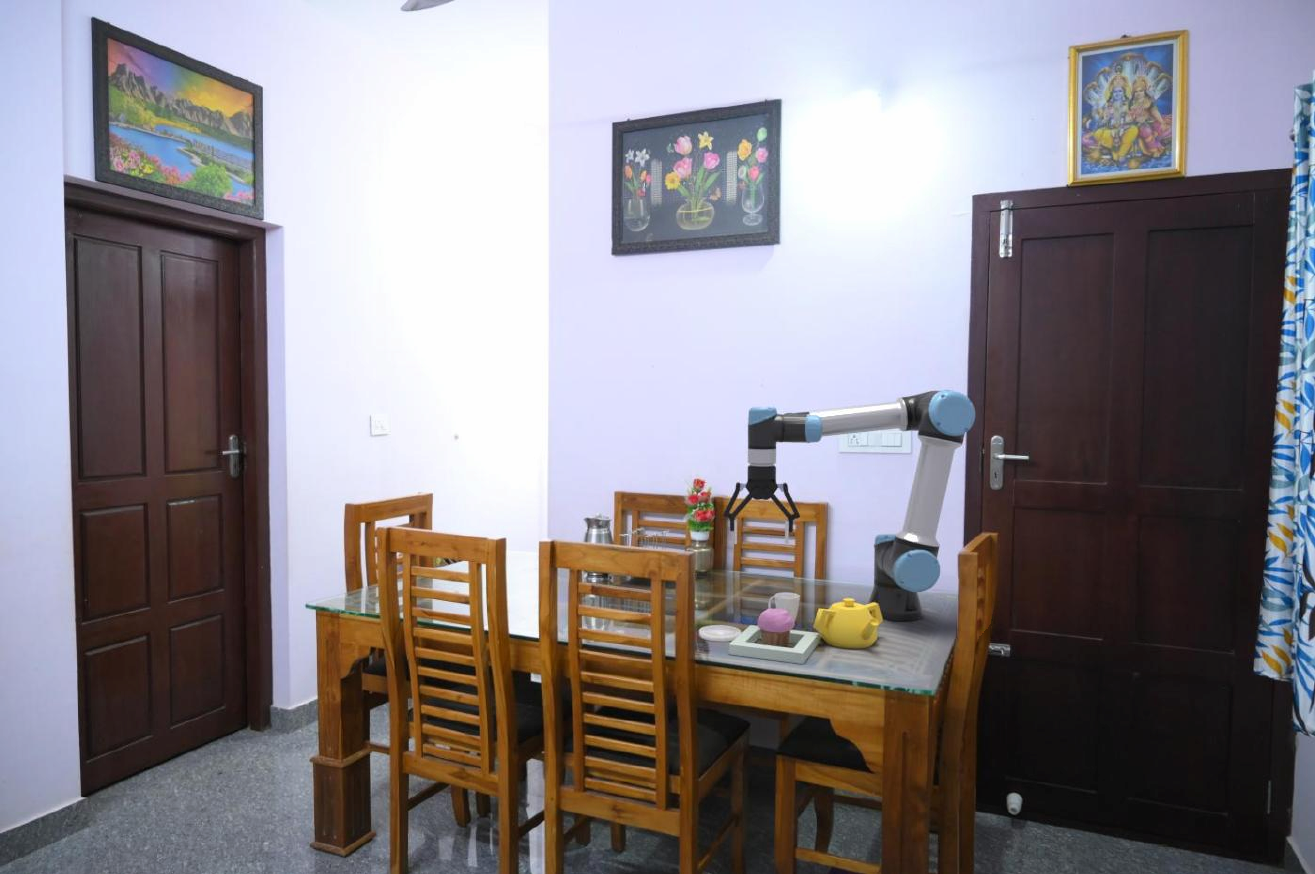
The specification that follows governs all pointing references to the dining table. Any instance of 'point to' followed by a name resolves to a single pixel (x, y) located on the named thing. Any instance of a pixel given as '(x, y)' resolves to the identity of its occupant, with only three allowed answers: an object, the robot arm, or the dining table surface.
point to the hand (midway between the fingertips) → (761, 543)
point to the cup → (786, 603)
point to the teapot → (849, 624)
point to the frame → (798, 654)
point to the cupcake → (775, 627)
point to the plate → (719, 633)
